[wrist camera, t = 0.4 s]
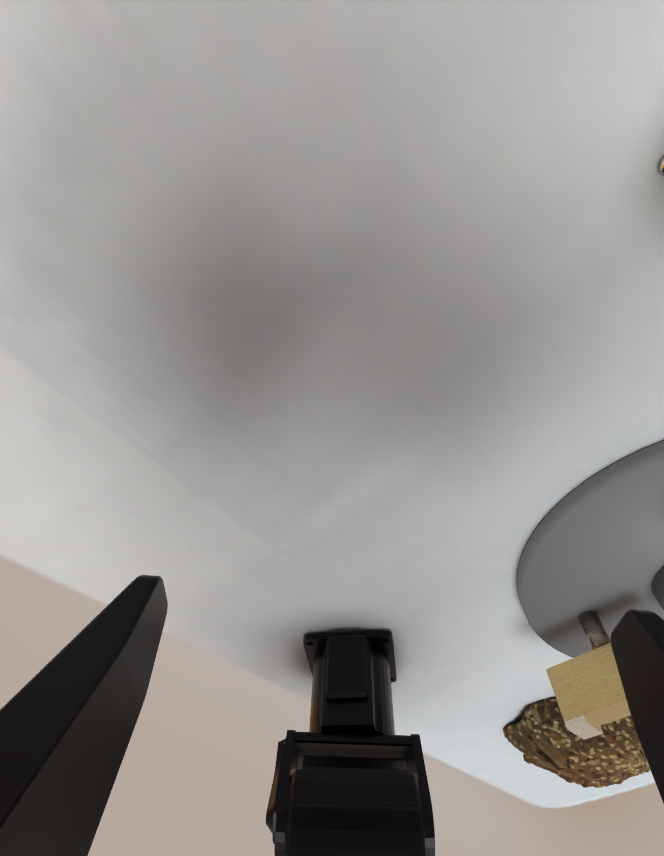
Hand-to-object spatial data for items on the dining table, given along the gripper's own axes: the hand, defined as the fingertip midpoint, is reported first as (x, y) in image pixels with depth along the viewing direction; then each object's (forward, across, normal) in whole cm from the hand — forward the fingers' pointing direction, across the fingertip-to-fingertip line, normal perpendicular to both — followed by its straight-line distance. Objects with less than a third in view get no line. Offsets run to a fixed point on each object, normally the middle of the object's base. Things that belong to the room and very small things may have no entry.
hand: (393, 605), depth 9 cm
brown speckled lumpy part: (+15, -23, +35) cm, 45 cm away
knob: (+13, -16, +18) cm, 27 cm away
